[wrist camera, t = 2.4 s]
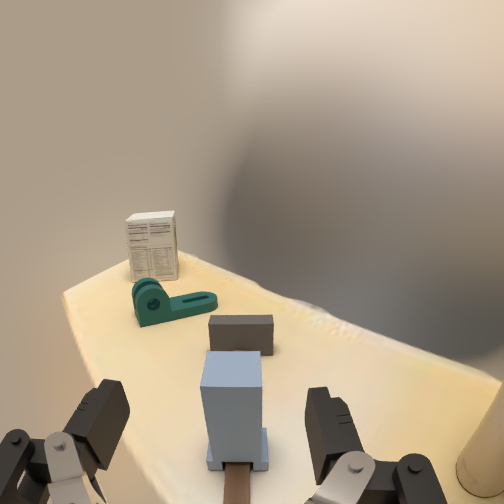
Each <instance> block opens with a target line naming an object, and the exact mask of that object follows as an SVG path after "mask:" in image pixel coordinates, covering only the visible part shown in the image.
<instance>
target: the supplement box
mask: <svg viewBox="0 0 504 504" xmlns="http://www.w3.org/2000/svg"><path fill="white" fill-rule="evenodd" d="M125 224H126V236H127V244H128V253H129V262H130V269H131V277H132V282H137V281H138V280H140V279H142V278H147V277H148V278H153V279H155V280H157V281H165V280H177V276H178V267H179V264H178V253H177V240H176V225H175V211H162V212H150V213H149V212H148V213H137V214H133V215H132V216H131V217H129V218H128V219H127V220H126V221H125Z"/></svg>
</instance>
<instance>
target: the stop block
mask: <svg viewBox="0 0 504 504" xmlns="http://www.w3.org/2000/svg"><path fill="white" fill-rule="evenodd" d="M208 326H209V337H210V348H211V351H234V350H249V351H260V356H264V355H273V332H274V323H273V316H272V315H211V316H210V319H209V323H208Z"/></svg>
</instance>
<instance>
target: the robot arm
mask: <svg viewBox="0 0 504 504" xmlns="http://www.w3.org/2000/svg"><path fill="white" fill-rule="evenodd" d="M129 415H130V407H129V403H128V401H127V398H126V395H125V392H124V389H123V386H122V383H121V382H120V381H115V380H109V379H103V380H102V382H101V383H100V385H99V387H98V388H93V389H92V390H91V391H89V392H88V393H87V394H85V396H84V398H83V399H82V401H81V404H79V406H78V407H77V410H75V412H74V413H73V415H72V417H71V418H70V420H69V422H68V423H67V425H66V427H65V428H64V430H63V431H62V432H55V433H53V434H51V435H49V436H48V437H47V438H46V440H44V439H30V437H29V435H28V434H27V433H26V432H25V431H24V430H21V429H15V430H12V431H10V432H8V433H7V434H6V436H5V437H4V439H3V440H2V442H1V444H0V504H47V501H48V499H49V496H51V500H52V504H109V503H108V501H107V498H106V496H105V494H104V492H103V489H102V487H101V485H100V482H99V480H98V478H97V475H96V474H95V473H96V471H97V469H98V468H99V469H102V470H107V469H108V466H109V464H110V461H111V459H112V456H113V454H114V451H115V449H116V447H117V444H118V442H119V440H120V437H121V435H122V432H123V430H124V428H125V425H126V423H127V421H128V418H129ZM305 427H306V432H307V437H308V442H309V448H310V453H311V458H312V464H313V469H314V474H315V480H316V485H321V486H320V487H319V489H318V490H317V491H316V493H315V494H314V495H313V497H312V498H309V499H308V500H307V501H306V502H305V503H304V504H447V501H446V499H445V496H444V493H443V491H442V488H441V486H440V483H439V481H438V478H437V476H436V474H435V471H434V469H433V466H432V464H431V462H430V460H429V459H428V458H427V457H425V456H424V455H421V454H416V453H414V454H408V455H406V456H404V457H402V458H401V459H400V461H399V462H387V461H378V460H375V459H373V458H372V457H371V456H370V455H368V454H367V453H365V452H364V450H363V447H362V444H361V442H360V439H359V436H358V433H357V430H356V428H355V425H354V423H353V419H352V417H351V415H350V411H349V408H348V406H347V404H346V403H345V402H344V401H343V400H342V399H341V398H340V397H336V398H331V397H330V394H329V391H328V388H327V387H317V388H309V389H308V395H307V402H306V409H305ZM23 471H25V472H26V473H25V475H24V477H23V479H22V481H21V483H20V485H19V487H18V490H17V483H18V481H19V479H20V477H21V475H22V473H23ZM456 471H457V476H458V479H459V481H460V483H461V484H462V486H463V487H464V488H465V489H466V490H467V491H468V492H470V493H472V494H474V495H477V496H480V497H491V496H495V495H498V494H500V493H502V492H503V491H504V381H503V383H502V385H501V387H500V389H499V391H498V393H497V395H496V396H495V398H494V400H493V402H492V404H491V406H490V408H489V409H488V411H487V413H486V415H485V416H484V418H483V420H482V421H481V423H480V425H479V426H478V428H477V429H476V431H475V432H474V434H473V436H472V437H471V439H470V440H469V442H468V443H467V445H466V446H465V448H464V449H463V451H462V452H461V454H460V455H459V457H458V460H457V466H456Z"/></svg>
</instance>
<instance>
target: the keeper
mask: <svg viewBox="0 0 504 504" xmlns="http://www.w3.org/2000/svg"><path fill="white" fill-rule="evenodd" d="M200 390H201V396H202V402H203V408H204V414H205V420H206V426H207V431H208V437H209V445H208V453H207V460H206V461H207V465H208V469H209V470H223V462H253V471H263V470H268V447H267V431H266V428H262V373H261V356H260V351H207V355H206V360H205V365H204V369H203V374H202V379H201V384H200Z"/></svg>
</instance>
